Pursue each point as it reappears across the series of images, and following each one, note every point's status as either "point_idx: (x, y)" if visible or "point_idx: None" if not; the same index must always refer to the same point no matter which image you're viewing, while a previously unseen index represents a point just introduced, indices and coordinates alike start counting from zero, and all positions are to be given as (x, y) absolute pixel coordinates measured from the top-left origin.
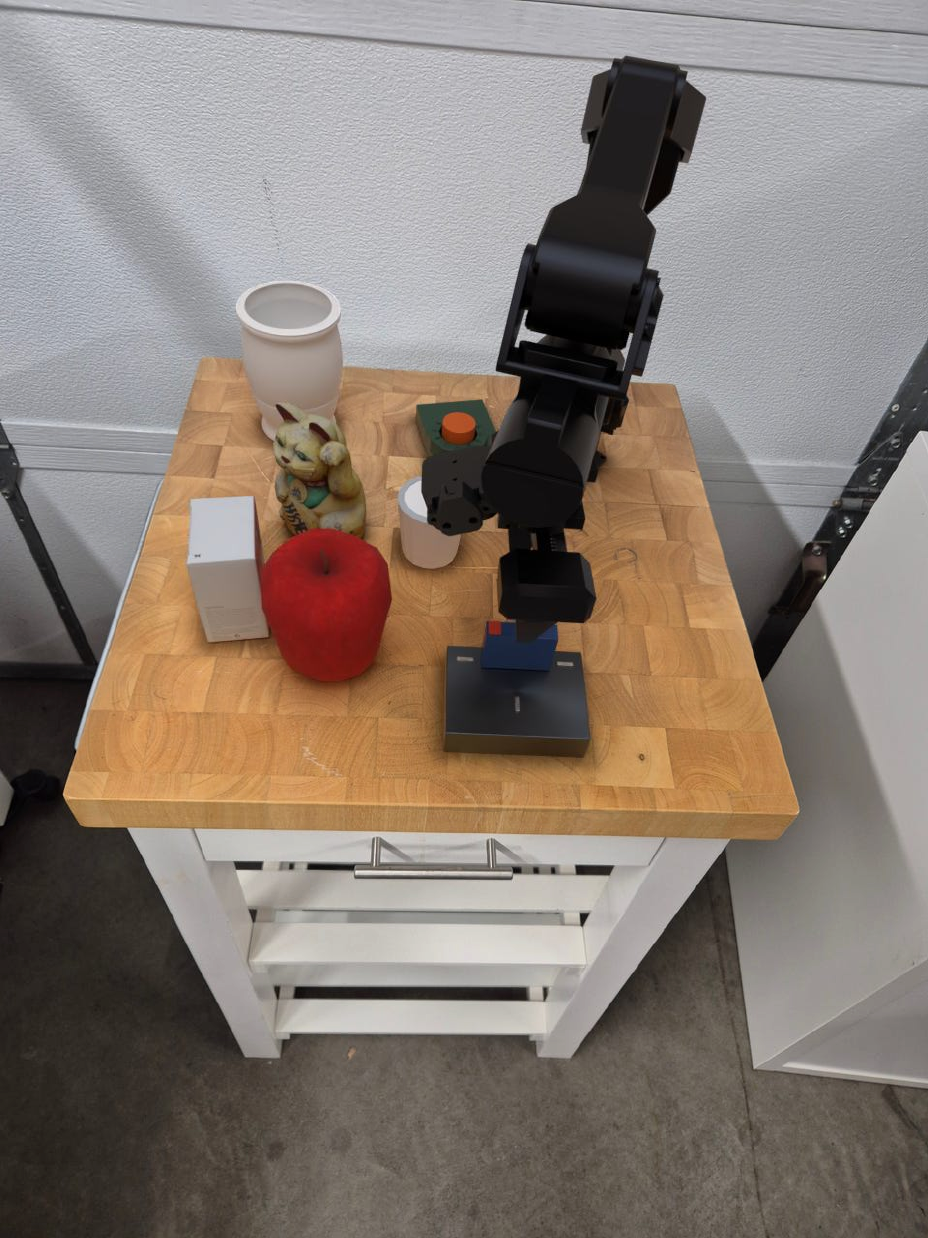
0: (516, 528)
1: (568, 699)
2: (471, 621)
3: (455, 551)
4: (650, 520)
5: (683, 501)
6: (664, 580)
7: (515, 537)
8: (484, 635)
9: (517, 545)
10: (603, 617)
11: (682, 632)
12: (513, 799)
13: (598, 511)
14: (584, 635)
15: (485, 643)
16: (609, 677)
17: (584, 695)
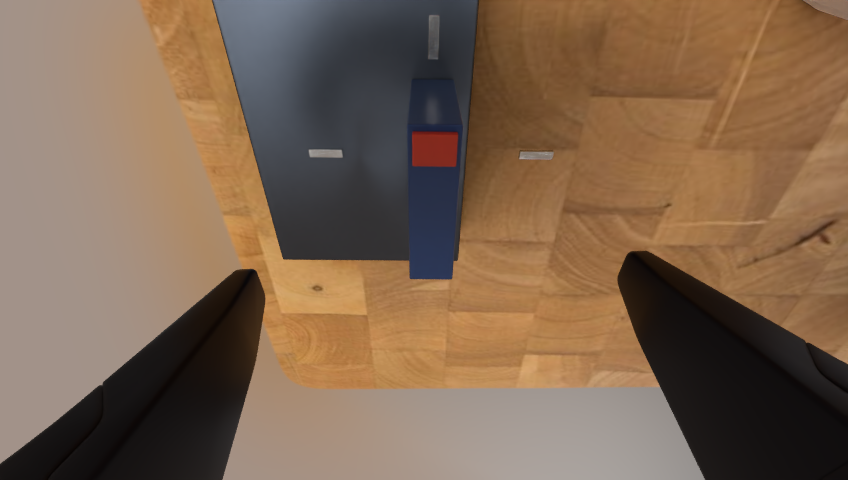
0: (728, 369)
1: (355, 236)
2: (591, 47)
3: (823, 7)
4: None
5: None
6: (610, 342)
7: (691, 333)
8: (445, 107)
9: (660, 313)
10: (557, 271)
11: (517, 347)
12: (188, 119)
13: (786, 286)
14: (525, 245)
15: (408, 112)
16: None
17: (366, 258)
